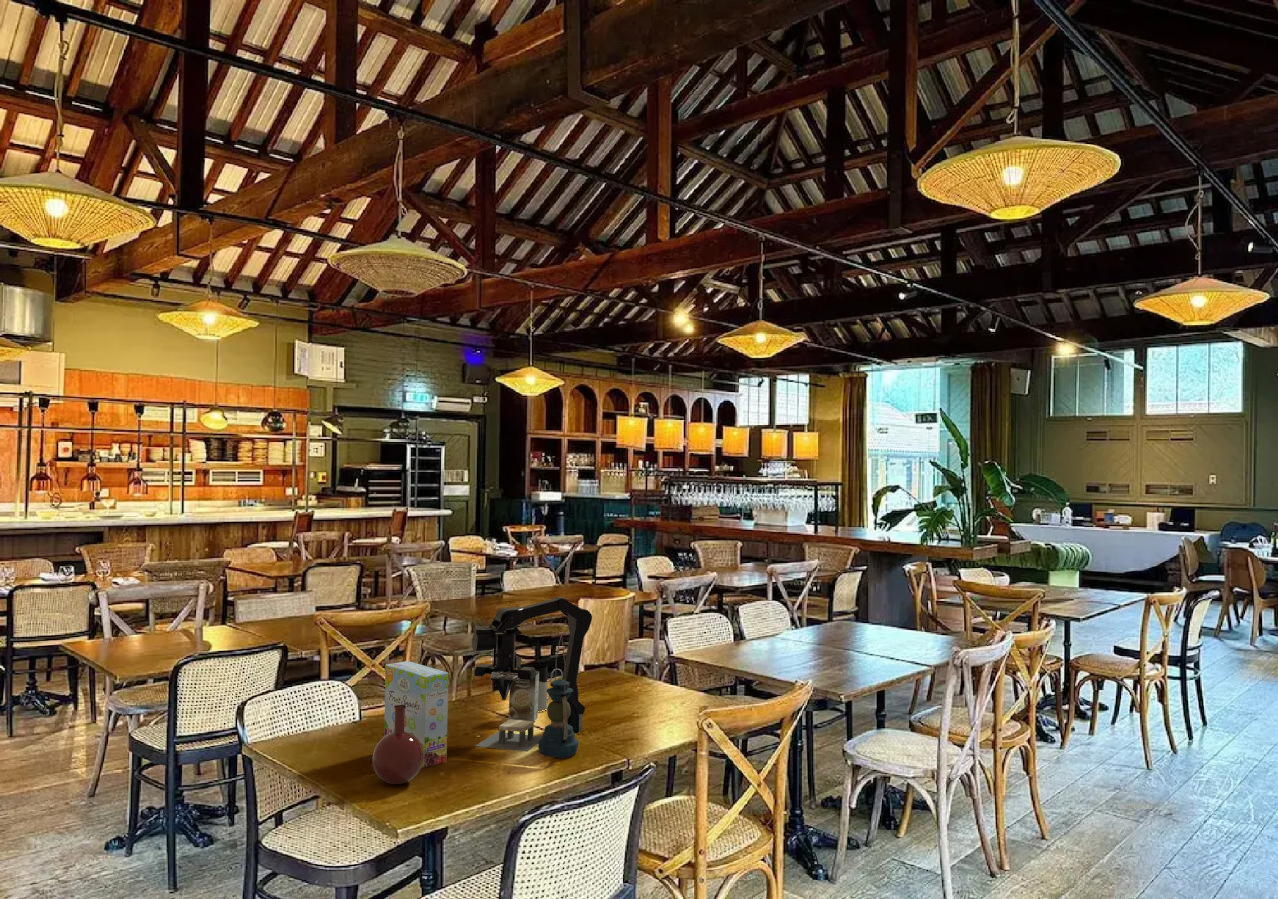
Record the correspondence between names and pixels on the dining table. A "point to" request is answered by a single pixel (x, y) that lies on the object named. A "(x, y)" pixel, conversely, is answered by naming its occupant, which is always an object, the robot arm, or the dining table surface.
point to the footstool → (516, 726)
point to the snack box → (419, 706)
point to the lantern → (558, 721)
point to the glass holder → (543, 685)
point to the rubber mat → (509, 742)
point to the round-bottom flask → (398, 753)
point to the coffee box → (524, 699)
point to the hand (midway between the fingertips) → (504, 699)
